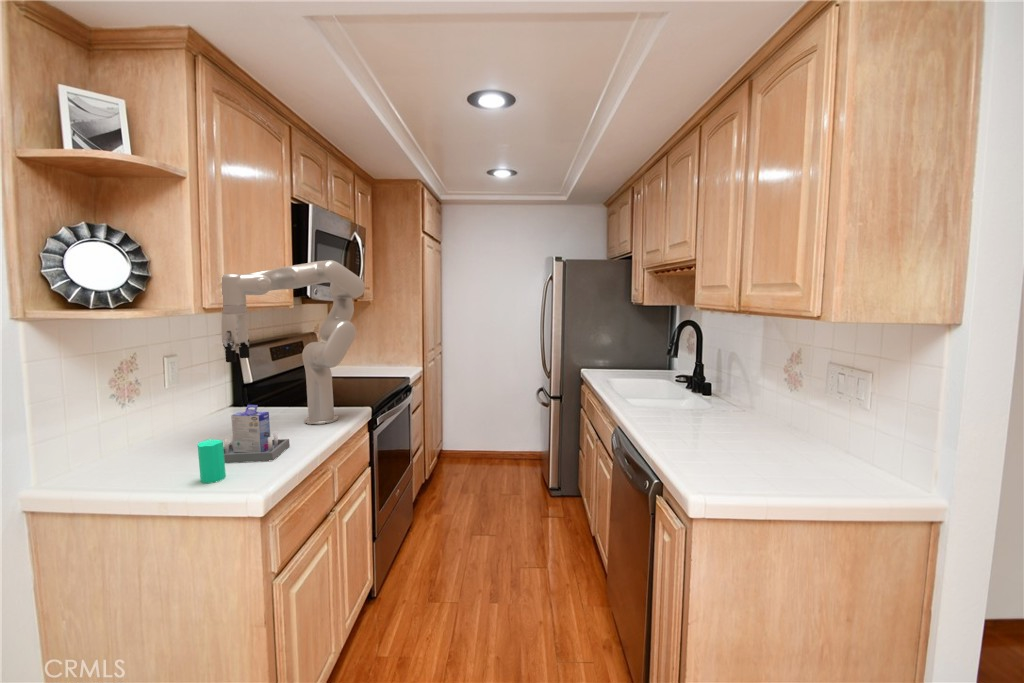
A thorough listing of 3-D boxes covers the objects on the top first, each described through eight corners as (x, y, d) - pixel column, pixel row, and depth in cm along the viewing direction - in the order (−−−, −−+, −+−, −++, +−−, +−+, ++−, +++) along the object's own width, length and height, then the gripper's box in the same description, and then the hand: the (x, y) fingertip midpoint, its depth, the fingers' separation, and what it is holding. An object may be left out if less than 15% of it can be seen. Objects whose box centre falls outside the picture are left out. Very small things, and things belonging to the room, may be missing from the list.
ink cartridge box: (272, 448, 160) (269, 404, 158) (261, 453, 154) (258, 408, 153) (244, 447, 161) (241, 403, 159) (232, 452, 155) (229, 407, 154)
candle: (199, 478, 138) (196, 436, 136) (224, 473, 141) (221, 432, 140) (201, 485, 133) (197, 441, 132) (227, 479, 136) (223, 437, 135)
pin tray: (233, 448, 163) (232, 431, 163) (289, 446, 165) (288, 428, 164) (211, 463, 149) (209, 444, 149) (272, 461, 151) (271, 442, 150)
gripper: (235, 309, 176) (238, 356, 178) (209, 311, 159) (213, 364, 161) (256, 309, 177) (260, 356, 179) (233, 311, 160) (237, 363, 162)
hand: (238, 360), depth 170 cm, fingers open, 9 cm apart
